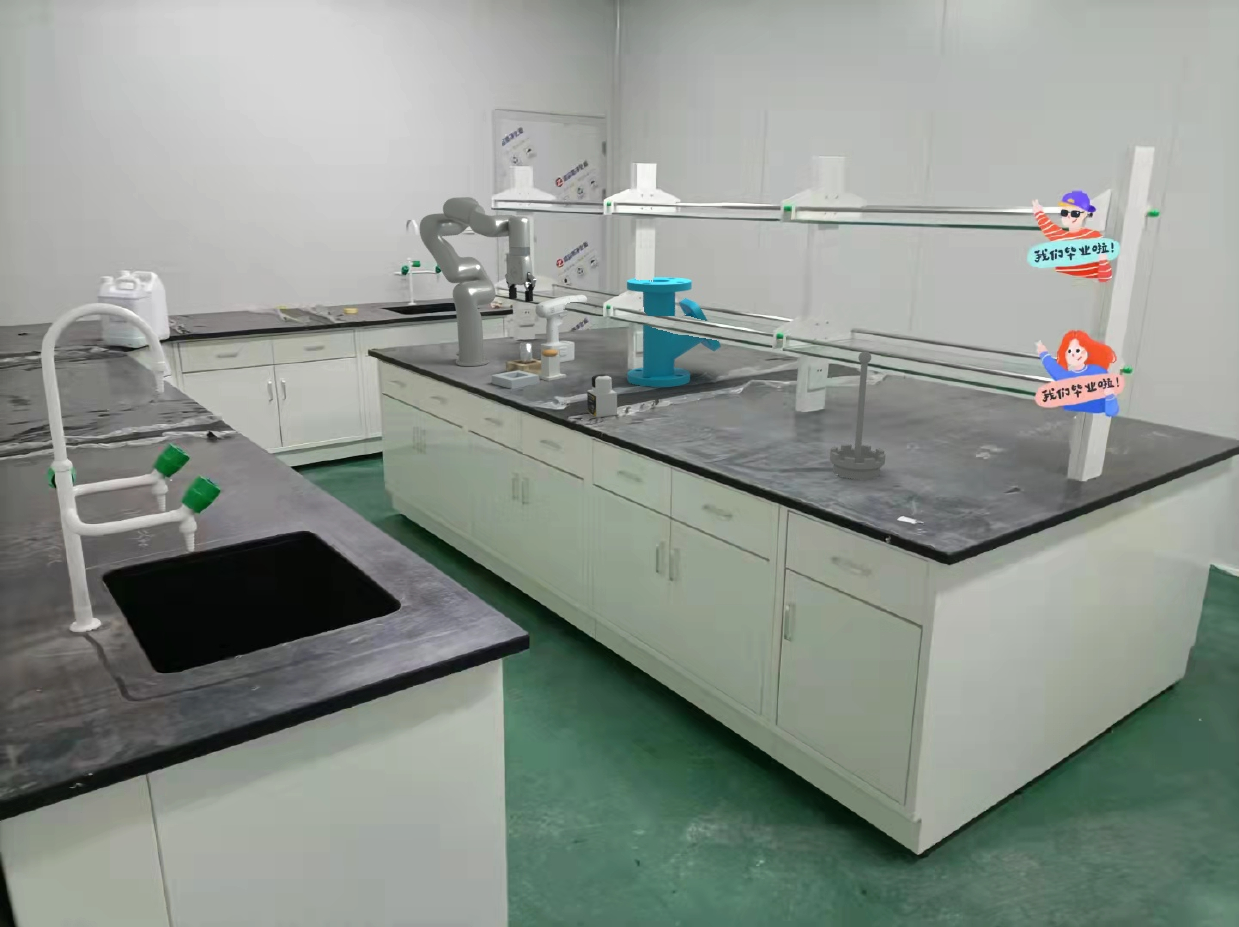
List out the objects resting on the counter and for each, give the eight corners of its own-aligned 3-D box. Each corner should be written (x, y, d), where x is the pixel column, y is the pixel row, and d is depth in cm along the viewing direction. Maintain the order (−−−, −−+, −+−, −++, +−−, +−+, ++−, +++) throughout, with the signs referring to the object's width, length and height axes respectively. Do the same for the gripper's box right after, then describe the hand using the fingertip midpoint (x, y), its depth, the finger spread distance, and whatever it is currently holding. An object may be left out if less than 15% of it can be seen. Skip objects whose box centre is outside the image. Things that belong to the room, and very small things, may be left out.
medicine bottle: (587, 412, 277) (586, 374, 273) (608, 410, 279) (608, 372, 276) (595, 417, 270) (595, 379, 267) (617, 415, 273) (617, 376, 269)
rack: (506, 372, 334) (505, 362, 332) (529, 368, 341) (529, 358, 340) (523, 377, 326) (523, 366, 325) (547, 372, 333) (547, 362, 332)
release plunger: (539, 373, 325) (538, 350, 322) (551, 370, 328) (551, 348, 326) (549, 375, 321) (548, 352, 318) (561, 373, 324) (560, 350, 322)
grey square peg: (518, 372, 334) (517, 343, 330) (528, 370, 336) (526, 341, 333) (525, 374, 330) (524, 344, 327) (535, 372, 333) (534, 343, 330)
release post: (535, 377, 325) (534, 355, 323) (552, 374, 330) (551, 352, 328) (548, 380, 319) (548, 358, 317) (566, 377, 325) (565, 355, 322)
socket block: (491, 383, 316) (491, 375, 315) (519, 378, 324) (518, 370, 323) (511, 388, 308) (511, 380, 307) (539, 383, 316) (539, 375, 315)
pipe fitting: (621, 375, 328) (620, 278, 317) (704, 370, 334) (706, 275, 323) (635, 388, 307) (635, 285, 296) (723, 383, 313) (726, 282, 302)
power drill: (593, 357, 360) (592, 294, 353) (545, 365, 345) (543, 300, 337) (580, 354, 366) (579, 292, 359) (532, 362, 351) (530, 298, 343)
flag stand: (886, 482, 212) (897, 357, 203) (830, 479, 214) (838, 356, 205) (880, 465, 224) (891, 347, 215) (827, 463, 226) (835, 345, 217)
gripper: (496, 251, 324) (498, 298, 329) (525, 254, 312) (527, 303, 317) (513, 249, 329) (515, 296, 334) (542, 253, 317) (543, 301, 322)
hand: (521, 300), depth 326 cm, fingers open, 9 cm apart
